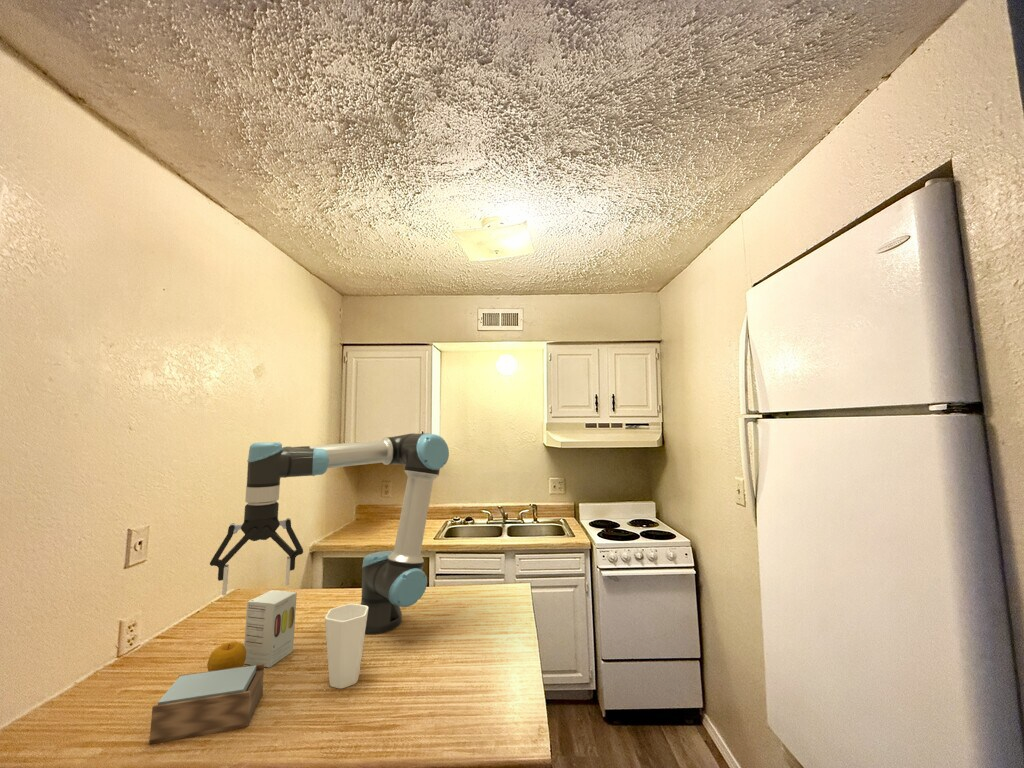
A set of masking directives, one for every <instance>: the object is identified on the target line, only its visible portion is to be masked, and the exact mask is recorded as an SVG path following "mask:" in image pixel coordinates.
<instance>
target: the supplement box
mask: <svg viewBox="0 0 1024 768" xmlns="http://www.w3.org/2000/svg"><path fill="white" fill-rule="evenodd" d="M297 594H298V593H297V592H296V591H284V590H278V589H277V590H275V589H271V590H269V591H266V592H265V593H263V594H261V595H259V596H256V597H254V598H252V599H249V600H248V601H247V602H246V603H247V604H246V613H245V614H246V617H245V631H244V643H243V645H244V646H245V649H246V660H245V663H244V665H248V666H250V665H257V664H264V668H271V667H273V666H274V665H276V664H277V663H279V662H280V661H281V660H283V659H284V658H285V657H287V656H288V655H289V654H291V653H292V652H294V644H295V641H294V640H295V627H296V626H295V625H296V613H297V612H296V610H297Z"/></svg>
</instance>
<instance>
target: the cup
mask: <svg viewBox="0 0 1024 768" xmlns="http://www.w3.org/2000/svg"><path fill="white" fill-rule="evenodd" d="M368 608H369V607H368V606H365V605H360V604H359V603H347V604H342V605H340V606H336V607H331V608H330V609H329V610H328V611H327V613H326V615H325V617H324V624H325V637H326V638H325V640H326V641H325V642H326V654H327V668H328V683H329V686H330V687H332V688H337V689H345V688H347V687H350V686H353V685H355V684H356V683H357V682H358V681H359V677H360V671H361V664H362V663H361V662H362V656H363V648H364V642H365V635H366V634H365V629H366V622H367V615H368Z"/></svg>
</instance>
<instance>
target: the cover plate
mask: <svg viewBox="0 0 1024 768" xmlns="http://www.w3.org/2000/svg"><path fill="white" fill-rule="evenodd" d="M247 666H248V667H241V668H234V669H226V670H219V671H212V672H207V671H204V672H205V673H200V672H197V673H198V674H193V673H190V674H191V675H185V674H183V675H184V676H179V675H178V676H179V678H178V677H177V679H176V680H175V681H174V682H173V684H172V685H171V686H170V687H169V688H168V689H167V691H166V692H165V693H164V695H163V696H162V697H161V698H160V699H159V700H158V701H157V705H161V704H167V703H174V702H180V701H187V700H193V699H200V698H206V697H213V696H219V695H225V694H232V693H238V692H245V691H246V690H247V688H248V686H249V684H250V682H251V680H252V678H253V677H254V675H255V673H256V665H255V666H250V665H247Z"/></svg>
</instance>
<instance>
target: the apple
mask: <svg viewBox="0 0 1024 768" xmlns="http://www.w3.org/2000/svg"><path fill="white" fill-rule="evenodd" d="M245 660H246V649H245V646H244V643H242V642H241V641H230V642H226V643H223V644H221V645H219V646H218V647H216V648H215V649H213V651H212V652H211V654H210V655H209V657H208V660H207V664H206V666H207V671H214V670H221V669H228V668H235V667H243V666H245V664H244V663H245Z"/></svg>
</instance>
